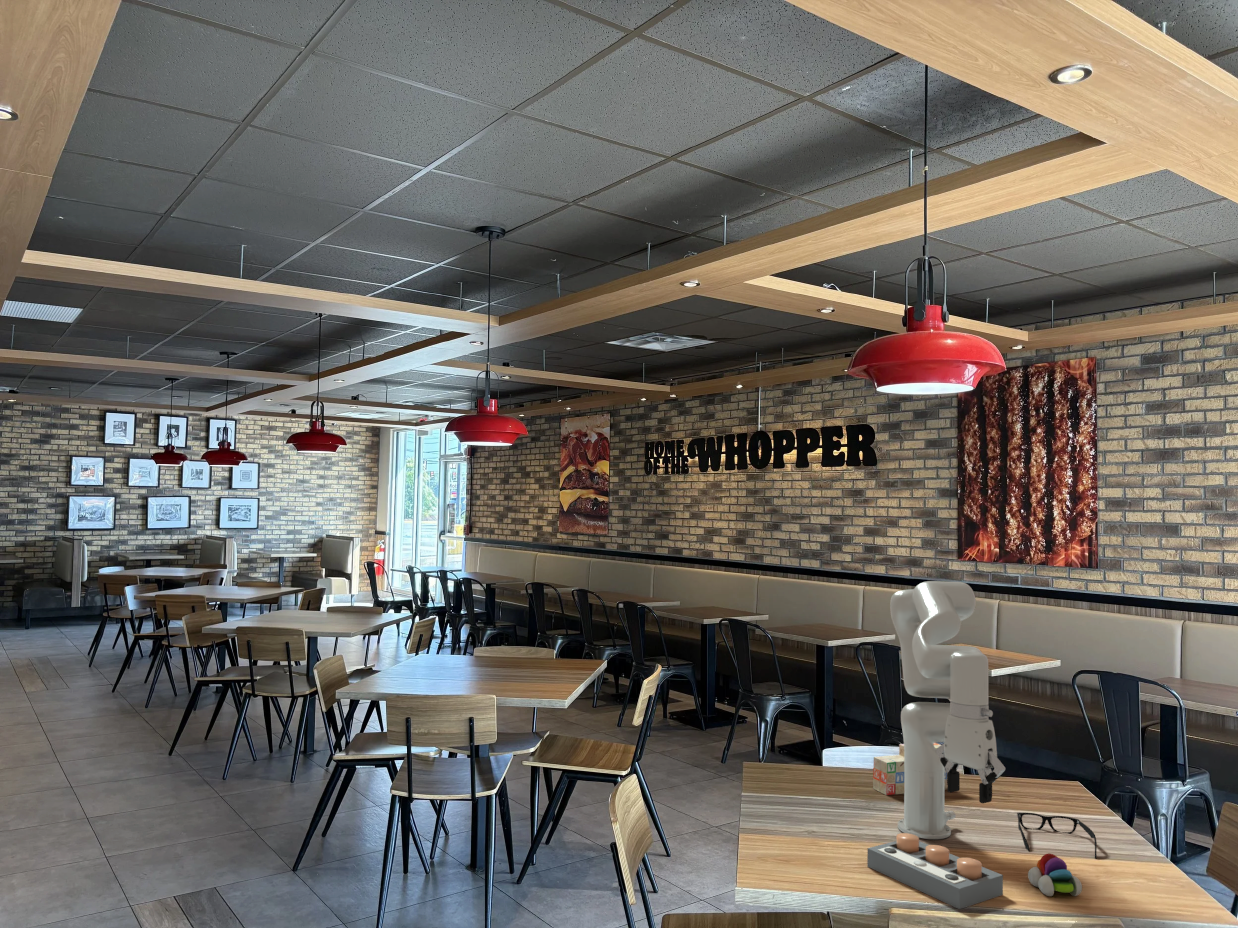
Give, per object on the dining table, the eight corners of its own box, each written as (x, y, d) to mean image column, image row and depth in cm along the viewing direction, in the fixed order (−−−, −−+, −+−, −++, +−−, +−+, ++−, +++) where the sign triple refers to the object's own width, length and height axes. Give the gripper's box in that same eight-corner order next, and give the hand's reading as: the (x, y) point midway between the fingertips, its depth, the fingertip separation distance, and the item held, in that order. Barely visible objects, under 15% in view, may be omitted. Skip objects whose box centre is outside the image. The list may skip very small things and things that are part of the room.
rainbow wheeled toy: (1062, 881, 189) (1061, 847, 190) (1087, 901, 180) (1087, 865, 180) (1023, 881, 189) (1023, 846, 189) (1047, 900, 179) (1047, 864, 180)
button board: (909, 854, 202) (909, 835, 202) (1002, 894, 182) (1002, 872, 182) (867, 866, 195) (867, 846, 195) (959, 909, 174) (959, 886, 174)
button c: (966, 870, 186) (966, 855, 186) (986, 878, 181) (986, 863, 182) (952, 875, 183) (952, 859, 183) (971, 883, 179) (971, 868, 179)
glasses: (1082, 838, 219) (1082, 817, 219) (1101, 861, 202) (1101, 838, 202) (1011, 830, 223) (1011, 810, 224) (1023, 852, 206) (1023, 830, 207)
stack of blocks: (886, 795, 245) (886, 751, 246) (872, 789, 251) (872, 745, 252) (947, 789, 253) (947, 746, 254) (932, 783, 259) (932, 740, 259)
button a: (906, 845, 199) (906, 831, 199) (923, 852, 195) (923, 838, 195) (891, 849, 197) (892, 835, 197) (909, 856, 193) (909, 842, 193)
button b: (935, 857, 192) (935, 843, 193) (954, 865, 188) (954, 850, 188) (920, 861, 190) (920, 847, 190) (939, 869, 186) (939, 854, 186)
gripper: (1017, 717, 179) (1017, 806, 178) (946, 701, 194) (946, 782, 193) (994, 721, 175) (994, 811, 174) (923, 704, 190) (923, 787, 189)
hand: (969, 795), depth 183 cm, fingers open, 7 cm apart
